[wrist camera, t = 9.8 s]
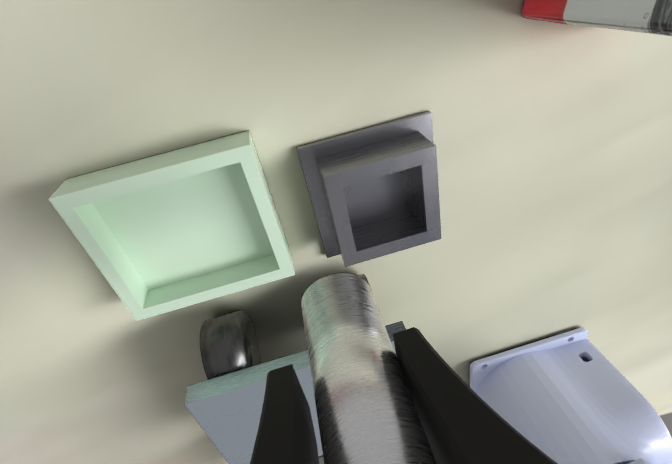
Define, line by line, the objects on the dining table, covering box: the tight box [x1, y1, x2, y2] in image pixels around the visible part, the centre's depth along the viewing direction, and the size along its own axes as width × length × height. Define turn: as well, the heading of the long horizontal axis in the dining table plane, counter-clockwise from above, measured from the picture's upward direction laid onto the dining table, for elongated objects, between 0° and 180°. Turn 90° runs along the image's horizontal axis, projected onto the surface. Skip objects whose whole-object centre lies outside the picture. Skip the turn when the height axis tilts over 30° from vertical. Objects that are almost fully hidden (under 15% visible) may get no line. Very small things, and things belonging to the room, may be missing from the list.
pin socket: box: [297, 111, 441, 267], centre depth 19 cm, size 6×6×2 cm
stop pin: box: [301, 273, 437, 464], centre depth 10 cm, size 3×3×8 cm
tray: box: [49, 130, 295, 321], centre depth 18 cm, size 8×7×2 cm
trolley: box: [185, 274, 406, 464], centre depth 23 cm, size 11×11×5 cm
